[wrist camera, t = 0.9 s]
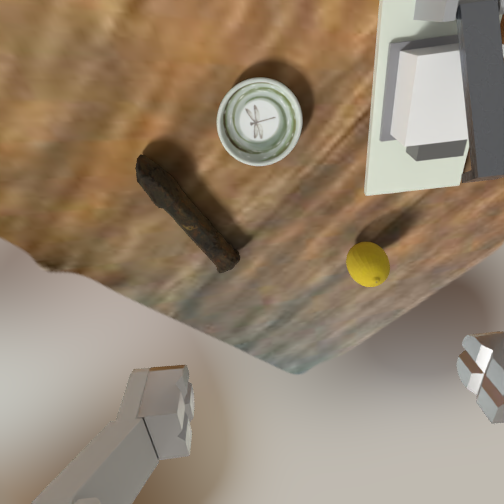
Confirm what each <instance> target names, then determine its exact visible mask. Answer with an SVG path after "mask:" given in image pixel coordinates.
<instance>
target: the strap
mask: <svg viewBox="0 0 504 504" xmlns="http://www.w3.org/2000/svg"><path fill="white" fill-rule="evenodd" d="M456 23H457V33H458V43H459V52H460V62H461V71H462V81H463V91H464V100H465V110H466V120H467V129H468V139H469V149H470V158H471V168H472V170H471V171H468V172H466V173H463V174H461V176H462V183H466V182H475V181H484V180H493V179H498V178H502V177H504V59H503V49H502V39H501V29H500V20H499V10H498V0H487V1H480V2H473V3H465V4H460V5H459V7H458V8H457V12H456Z"/></svg>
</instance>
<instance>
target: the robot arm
mask: <svg viewBox="0 0 504 504" xmlns="http://www.w3.org/2000/svg"><path fill="white" fill-rule="evenodd" d="M462 346H463V347H464V349H465V351H464V352H462V353H461V354H460V355H459V356H458V360H457V370H458V375H459V377H460V379H461V381H462V383H463V384H464V386H465V387H466V388H467V389H468V390H470V391H471V392H473V393H475V394H476V395H477V400H476V402H477V404H478V405H479V407H480V408H481V409H482V411H483V412H484V414H485V415H486V416H487V417H488V419H489V420H490V422H491V423H503V422H504V331H502V332H500V331H498V332H490V333H481V334H472V335H467V336H466V337H465V338H464V340H463V343H462ZM188 379H189V371H188V368H187V365H177V366H165V367H153V368H143V369H134V370H133V371H132V373H131V374H130V377H129V380H128V383H127V387H126V390H125V393H124V396H123V400H122V403H121V406H120V409H119V412H118V415H117V419H116V421H111V422H110V423H109V424H108V425H107V426H106V427H105V428H104V429H103V430H102V431H101V432H100V433H99V434H98V435H97V436H96V437H95V438H94V439H93V440H92V441H91V442H90V443H89V444H88V445H87V446H86V447H85V448H84V449H83V450H82V451H81V452H80V453H79V454H78V455H77V457H75V458H74V459H73V460H72V461H71V462H70V463H69V464H68V466H67V467H66V468H65V469H64V470H63V471H62V472H61V473H60V474H59V475H58V476H57V477H56V478H55V479H54V480H53V481H52V482H51V483H50V484H49V485H48V486H47V487H46V488H45V489H44V490H43V491H42V492H41V493H40V494H39V495H38V496H37V498H35V499H34V501H32V503H31V504H132V502H133V501H134V499H135V498H136V496H137V495H138V493H139V492H140V490H141V489H142V487H143V486H144V484H145V483H146V481H147V480H148V478H149V476H150V475H151V473H152V472H153V470H154V469H155V467H156V466H157V464H158V463H159V461H158V460H163V459H170V458H178V457H184V456H190V447H191V438H192V431H191V427H190V421H191V420H192V419H193V416H194V393H193V388H192V384H191V383H189V382H188Z"/></svg>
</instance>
